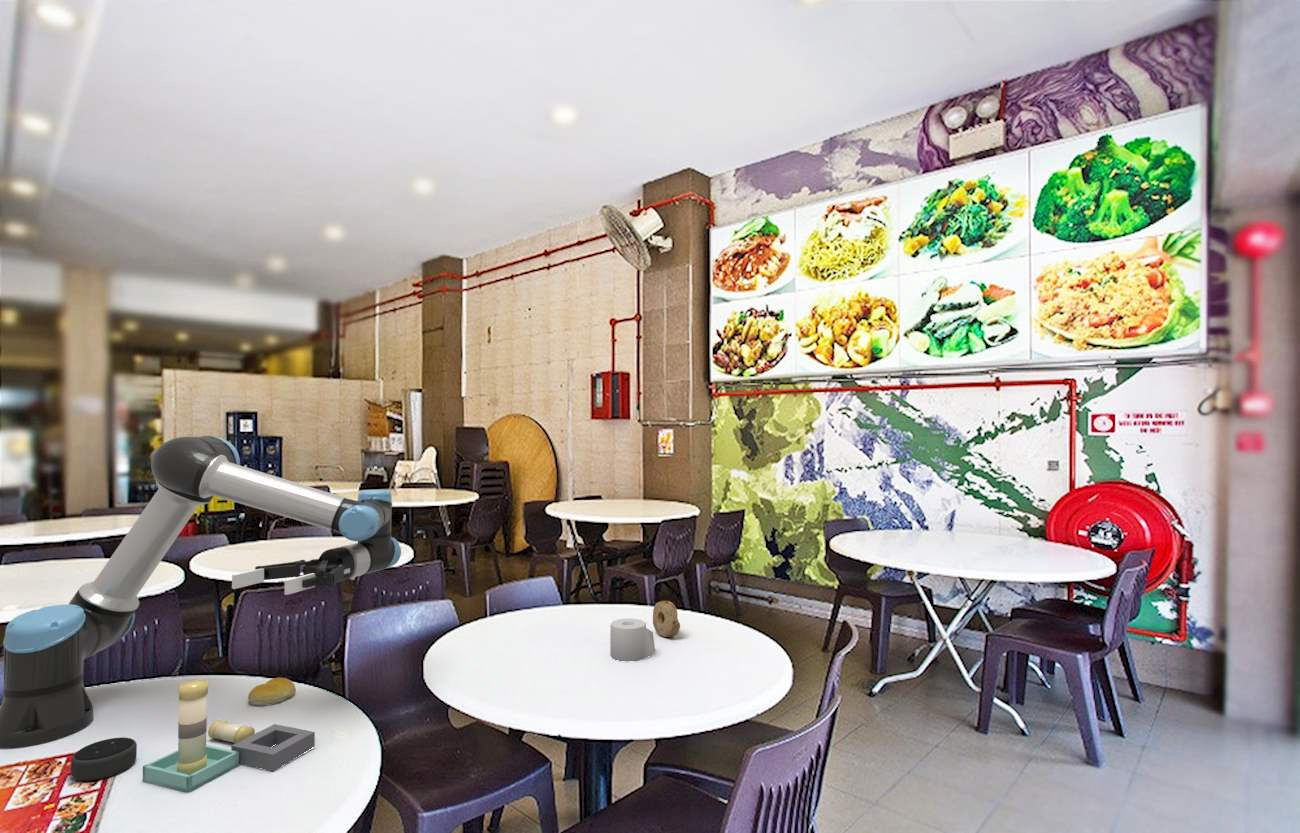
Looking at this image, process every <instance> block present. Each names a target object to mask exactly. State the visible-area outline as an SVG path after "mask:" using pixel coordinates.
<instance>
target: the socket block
mask: <svg viewBox="0 0 1300 833" xmlns="http://www.w3.org/2000/svg"><path fill="white" fill-rule="evenodd" d="M315 735H316V732H315V731H314V730H313V731H312V730H307V729H301V728H296V727H292V726H287V725H281V724H276V723H273V724H272V725H270V726H268V727H266V728H263V729H261V730H260V731H258V732H255V734H254V735H252V736H250V737H248V738H246V739H244V740H241V741H239V742H237V743H233V744H232V745H231V746H230V747H231V748H230V750H233V751H237V752H239V765H242V766H245V765H246V767H250V766H253V767H252V768H254V767H257V768H256V769H258V768H262V769H261V770H263V769H266V770H265V771H267V770H270V771H269V772H272V771H274V770H275V771H277V770H279V769H280V767H281V766H282V765H284V764H286V763H287V764H289V763H290V762H289V761H291V760H293V759H294V758H296V757H298V756H299V755H301V754H303V753H304V752H306V751H308V750H309V749H311V748H312V747H314V746H316V745H315V743H316V742H315V740H316V739H315V738H316V737H315ZM275 744H276V746H274V747H272V746H273V745H275ZM271 747H272V748H271ZM308 752H309V751H308ZM303 755H304V754H303ZM301 756H302V755H301ZM298 758H299V757H298ZM296 759H297V758H296ZM294 760H295V759H294ZM294 760H293V761H294ZM288 762H289V763H288ZM291 762H292V761H291ZM287 764H286V765H287ZM284 766H285V765H284ZM282 767H283V766H282ZM282 767H281V768H282ZM278 768H279V769H278ZM276 769H277V770H276ZM275 771H274V772H275Z"/></svg>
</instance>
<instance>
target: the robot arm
mask: <svg viewBox="0 0 1300 833" xmlns="http://www.w3.org/2000/svg"><path fill="white" fill-rule="evenodd" d="M150 464H151V465H150V468H151V472H152V474H153V477H154V479H155V483H156V486H157V488H158V490H157V491H156V492H155V494H154V495H153V497H152V498H151V499H150V501H149V502H148V503H147V504H146V506H145V508H144V509H143V511H142V512H141V514H140V515H139V516H138V518H137V520H136V521H135V522H134V523H133V525H132V526H131V528H130V529H129V531H128V532H127V534H126V535H125V536H124V538H123V539H122V540H121V542H120V543H119V545H118V546H117V548H116V549H115V550H114V552H113V553H112V555H111V556H110V558H109V559H108V560H107V562H106V564H105V565H104V566H103V568H102V569H101V571H100V572H99V573H98V575H97V577H96V578H95V579H94V581H91V582H86V583H84V584H82V585H80V587H79V588H78V589H77V591H76V592H75V594H74V596H73V597H72V598H71V599H70V601H69V603H67V604H65V603H64V604H55V605H49V606H44V607H40V608H39V609H32V610H30V611H26V612H24V613H21V614H19V615H17V616H16V617H14V618H12V619H11V620H10V621H9V622H8V624H7V625H6V627H5V632H4V637H3V643H2V645H3V695H2V696H3V698H2V701H1V704H0V748H3V749H4V748H5V749H6V748H7V749H11V748H12V749H13V748H20V747H28V746H33V745H34V746H35V745H39V744H44V743H47V742H51V741H54V740H58V739H61V738H64V737H67V736H69V735H71V734H74V733H76V732H79V731H80V730H82V729H85V728H86V727H87V726H89V725H90V724H92V722H93V720H94V706H93V704H92V701H91V699H90V696H89V694H88V692H87V690H86V688H85V686H84V660H86V659H88V658H90V657H92V656H93V655H95V654H97V653H99V652H101V651H103V650H106V649H108V648H110V647H112V646H114V645H115V644H116V643H117V642H119V641H121V639H123V638H124V637H125V636H126V635H127V634H128V633H129V632H130V631H131V629H132V627H133V625H134V622H135V619H136V618H135V617H136V613H135V612H136V610H138V608H139V606H140V601H139V598H138V595H139V593H140V592H141V590H142V589H143V588H144V586H145V584H146V583H147V582H148V580H149V579H150V578H151V576H152V575H153V573H154V572H155V570H156V569H157V567H158V566H159V564H160V562H161V561H162V560H163V558H164V557H165V556H166V554H167V553H168V551H169V550H170V548H171V546H173V544H174V543H175V541H176V539H177V537H178V536H179V535H180V533H181V532H182V531H183V529H184V528H185V527H186V525H187V523H188V522H189V520H190V519H191V517H192V516H193V515H194V513H195V512H196V510H197V509H198V508H199V507H200V506H203V505H207V504H209V503H211V501H212V499H214V497H216V498H219V499H224V500H225V501H230V502H233V503H238V504H240V505H243V506H247V507H250V508H254V509H258V510H261V511H264V512H268V513H271V514H275V515H278V516H281V517H285V518H288V519H292V520H295V521H299V522H302V523H306V524H309V525H312V526H315V527H320V528H323V529H326V530H330V531H332V532H336V533H338V534H341V535H342V536H343V537H344V538H345V539H346V540H349V541H352V542H356V543H352V544H351V543H350V544H347V545H342V546H340V547H339V546H338V547H334V548H329V549H327V550H324V551H323V552H322V553H321V554H320V556H319V557H318V558H315V559H310V560H307V561H306V560H305V559H301V560H296V561H290V562H283V563H274V564H266V565H258V566H255V567H254V568H255V569H253V570H248V571H244V572H243V571H242V572H240V573H235V574H232V575H231V589H233V590H236V589H237V590H238V589H241V588H244V587H248V586H252V585H256V584H259V585H263V582H265V581H269V580H276V579H277V580H279V579H284V593H283V594H284V595H285V596H286V595H287V596H288V595H292V594H295V593H298V592H302V591H306V590H309V589H313V588H315V587H319V588H321V587H323V586H324V585H325V587H328V588H330V587H332V586H333V587H334V585H336V584H337V583H340V582H344V581H347V580H351V581H354V580H355V579H356V577H357V578H358V577H360V576H364V575H366V574H371V573H374V572H375V573H376V572H379V571H380V572H381V571H384V570H385V569H389V568H391V567H393V566H394V565H396V564H397V563H398V562H399V561H400V559H401V556H402V547H401V546H400V543H399V541H398V539H396V538H395V537H393V536H392V509H393V508H392V506H393V502H392V492H391V491H390V490H388V489H367V490H366V489H365V490H360V492H359V493H358V495H357V500H355V499H350V498H346V497H345V496H341V495H338V494H335V493H331V492H328V491H325V490H321V489H319V488H318V489H317V488H315V487H313V486H308V485H306V484H305V485H304V484H302V483H299V482H295V481H292V480H289V479H286V478H283V477H280V476H276V475H273V474H269V473H266V472H262V471H260V470H256V469H254V468H251V467H246V466H244V465H243V466H242V465H241V458H240V455H239V453H238V450H237V449H236V447H235V446H234V445H233V444H232V443H231V442H230V441H228V440H226V439H224V438H222V437H218V436H213V435H201V436H179V437H175V438H172V439H169V440H167V441H165V442H164V443H162V444H161V445H160V446H159V447H157V449H156V450H155V451H154V453H153V455H152V457H151V462H150ZM287 578H289V579H287Z"/></svg>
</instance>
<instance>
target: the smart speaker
mask: <svg viewBox="0 0 1300 833" xmlns="http://www.w3.org/2000/svg"><path fill="white" fill-rule="evenodd" d="M137 745H138V744H137V741H136V740H134V739H133V738H131V737H124V736H123V737H114V738H106V739H102V740H98V741H96V742H93V743H90V744H87V745H85V746H84V747H82V748H80V749H79V750H77V751H76V752H75V753H74V754H73V756H72V757H71V760H70V775H71V777H72V778H73V779H75V781H76V780H77V781H82V782H87V781H88V782H89V781H97V780H102V779H105V778H106V779H107V778H109V777H112V776H115V775H117V774H120V773H122V772H123V771H126V770H127V769H128V768H130V767H131V766H132V765H133V764H134V763H135V761H137V755H138V754H137V751H138V749H137V748H138V746H137Z"/></svg>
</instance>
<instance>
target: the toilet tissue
mask: <svg viewBox="0 0 1300 833" xmlns="http://www.w3.org/2000/svg"><path fill="white" fill-rule="evenodd" d="M609 636H610V641H609V643H610V647H609V648H610V650H609V651H610V652H609V653H610V654H609V655H610V656H611V657H612V658H611V657H610V658H611V659H613V660H614V659H615V660H614V661H616V660H619V661H618V662H621V661H636V662H638V661H637V660H639V661H641V660H640V659H642V660H644V659H643V658H645V657H648V656H651V655H652V654H654V653H655V652H656V646H655V639H654V633H653V631H651V630H650V629H649V628H647V622H646V621H644V620H642V619H637V618H631V617H630V618H619V619H615V620H613V621H612V622H611V623H610V634H609ZM655 654H656V653H655ZM655 654H654V655H655ZM651 657H652V656H651ZM648 658H649V657H648ZM645 659H646V658H645Z"/></svg>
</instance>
